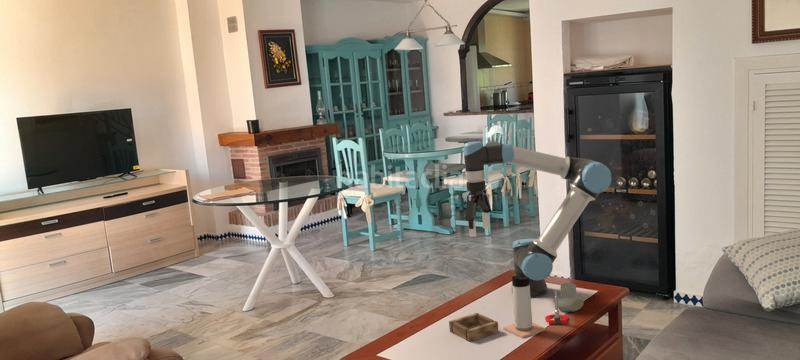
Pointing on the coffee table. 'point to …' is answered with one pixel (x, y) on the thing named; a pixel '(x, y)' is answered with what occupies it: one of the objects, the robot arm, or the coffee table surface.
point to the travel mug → (522, 303)
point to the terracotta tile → (524, 334)
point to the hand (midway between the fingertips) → (479, 232)
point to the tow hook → (556, 314)
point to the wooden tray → (483, 330)
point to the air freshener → (569, 298)
